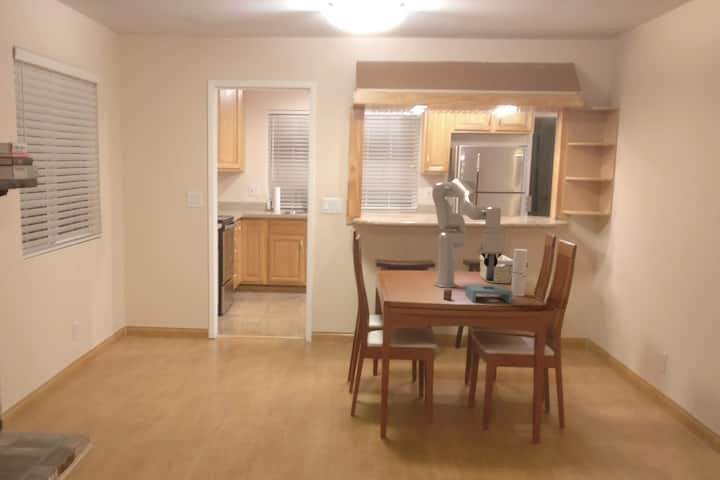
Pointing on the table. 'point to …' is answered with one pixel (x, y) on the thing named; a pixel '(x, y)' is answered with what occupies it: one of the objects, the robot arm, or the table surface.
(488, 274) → the long pin
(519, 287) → the cylindrical container
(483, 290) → the bridge
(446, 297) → the short pin
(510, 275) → the storage basket
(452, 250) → the robot arm
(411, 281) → the table surface
